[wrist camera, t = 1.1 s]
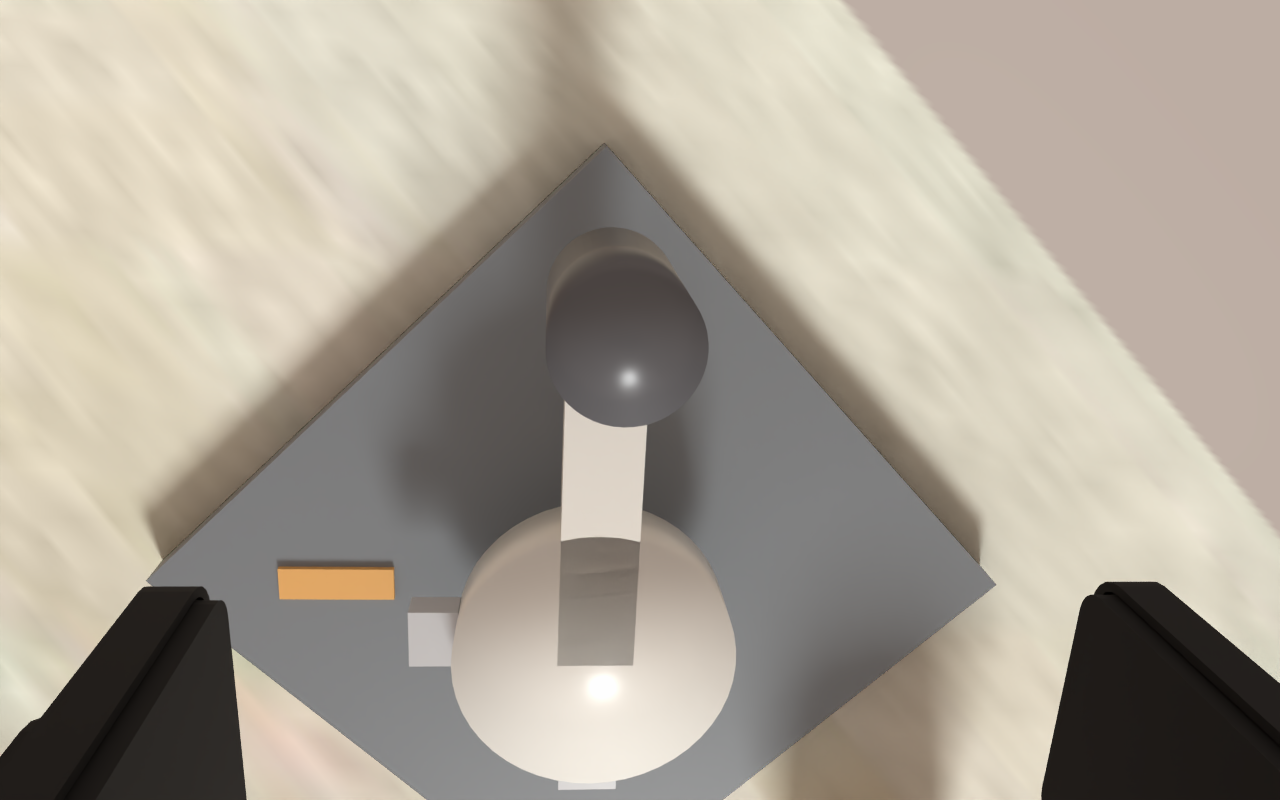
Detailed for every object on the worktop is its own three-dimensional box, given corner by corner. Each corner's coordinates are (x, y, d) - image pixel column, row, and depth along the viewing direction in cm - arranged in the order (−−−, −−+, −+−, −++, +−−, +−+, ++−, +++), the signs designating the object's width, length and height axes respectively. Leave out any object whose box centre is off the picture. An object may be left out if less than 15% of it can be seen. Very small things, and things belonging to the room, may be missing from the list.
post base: (980, 566, 39) (1026, 619, 35) (574, 887, 42) (577, 967, 39) (604, 143, 33) (611, 152, 29) (161, 560, 36) (116, 618, 32)
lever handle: (709, 768, 36) (756, 970, 28) (415, 772, 35) (375, 983, 27) (758, 220, 30) (836, 276, 22) (402, 206, 29) (345, 259, 21)
